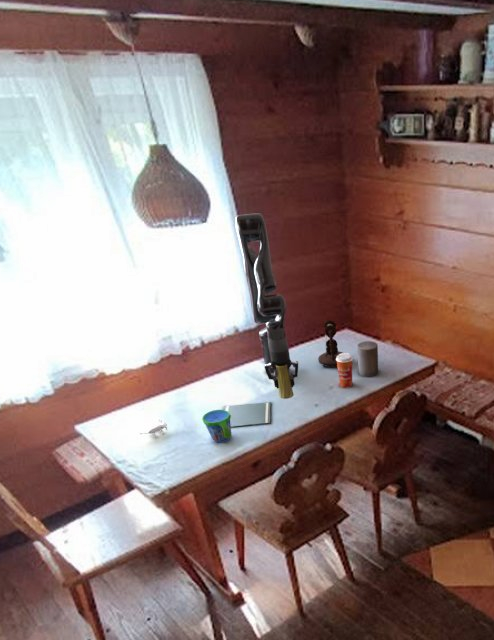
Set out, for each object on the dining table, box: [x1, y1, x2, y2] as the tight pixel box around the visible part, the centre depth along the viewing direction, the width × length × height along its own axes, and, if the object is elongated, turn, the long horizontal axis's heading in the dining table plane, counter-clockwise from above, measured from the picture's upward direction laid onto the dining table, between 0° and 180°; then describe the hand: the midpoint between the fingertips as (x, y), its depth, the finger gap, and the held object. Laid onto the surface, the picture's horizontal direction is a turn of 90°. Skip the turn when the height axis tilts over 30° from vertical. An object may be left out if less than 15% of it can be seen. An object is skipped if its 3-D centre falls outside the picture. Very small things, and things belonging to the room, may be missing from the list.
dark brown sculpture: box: [317, 319, 344, 368], centre depth 250 cm, size 15×15×20 cm
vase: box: [276, 364, 295, 400], centre depth 211 cm, size 6×6×14 cm
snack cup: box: [201, 409, 232, 443], centre depth 201 cm, size 16×10×10 cm
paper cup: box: [336, 352, 354, 389], centre depth 233 cm, size 8×8×14 cm
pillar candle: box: [356, 340, 380, 378], centre depth 242 cm, size 10×10×15 cm
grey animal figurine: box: [139, 419, 169, 438], centre depth 206 cm, size 12×5×5 cm, turn 141°
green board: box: [223, 401, 272, 428], centre depth 218 cm, size 18×20×1 cm
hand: (284, 386), depth 213 cm, fingers closed on vase, 5 cm apart
